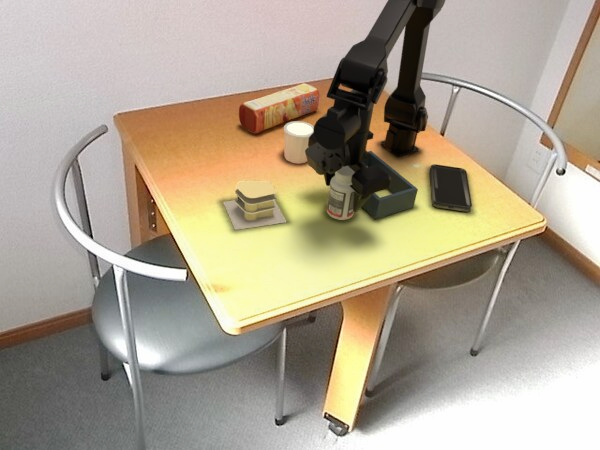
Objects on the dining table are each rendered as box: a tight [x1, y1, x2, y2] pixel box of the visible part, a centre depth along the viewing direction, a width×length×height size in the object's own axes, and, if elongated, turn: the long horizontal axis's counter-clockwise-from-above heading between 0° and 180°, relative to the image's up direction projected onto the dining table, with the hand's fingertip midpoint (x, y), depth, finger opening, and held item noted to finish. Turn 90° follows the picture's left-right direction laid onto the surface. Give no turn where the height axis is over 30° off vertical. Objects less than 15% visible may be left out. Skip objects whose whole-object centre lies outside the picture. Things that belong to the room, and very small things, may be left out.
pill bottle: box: [326, 166, 355, 221], centre depth 117 cm, size 5×5×10 cm
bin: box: [361, 150, 419, 220], centre depth 125 cm, size 10×16×4 cm, turn 32°
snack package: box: [238, 82, 320, 134], centre depth 146 cm, size 21×7×7 cm, turn 135°
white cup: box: [283, 120, 314, 165], centre depth 133 cm, size 7×7×7 cm
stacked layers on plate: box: [222, 179, 287, 231], centre depth 116 cm, size 10×9×6 cm
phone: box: [429, 163, 473, 213], centre depth 129 cm, size 8×1×15 cm
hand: (341, 197), depth 118 cm, fingers open, 9 cm apart
